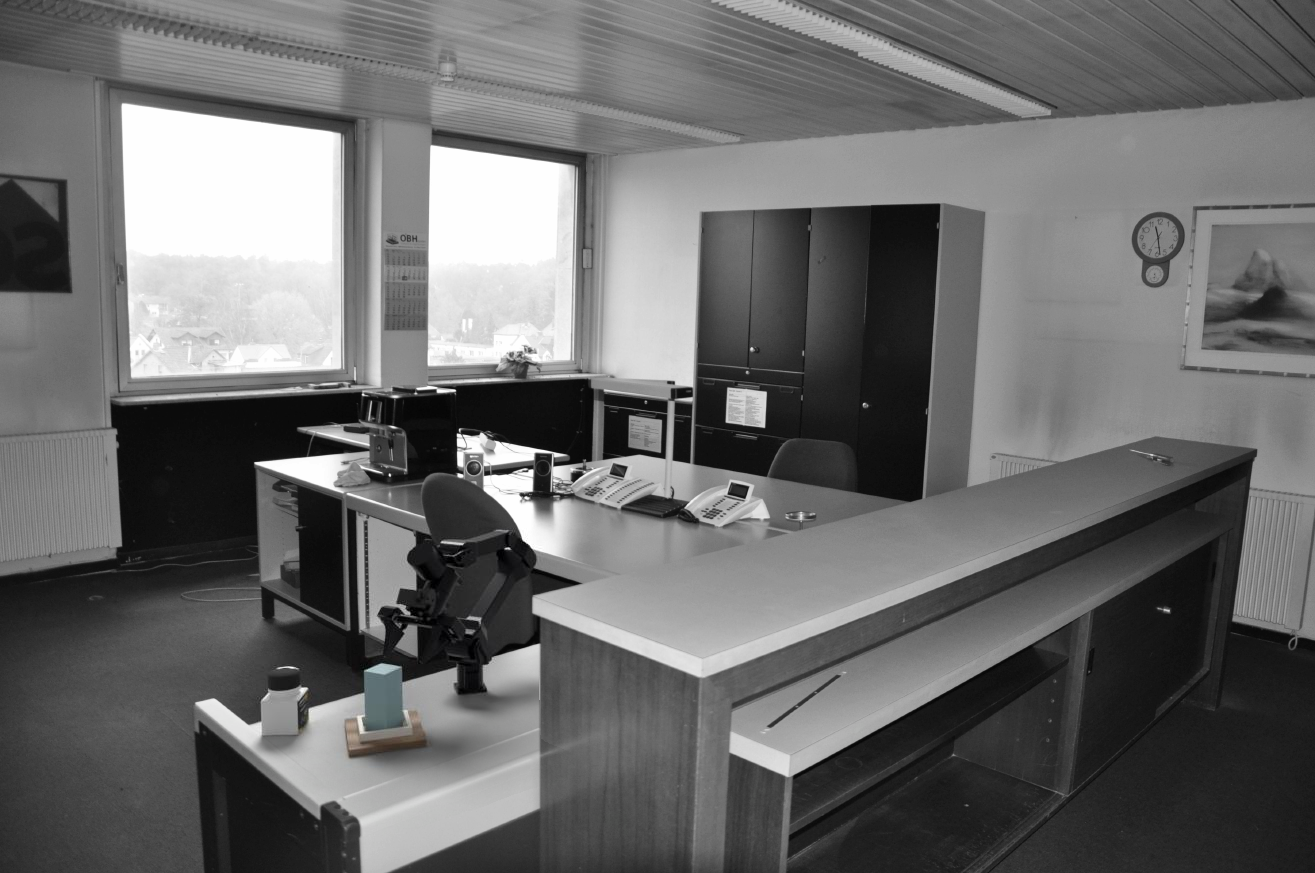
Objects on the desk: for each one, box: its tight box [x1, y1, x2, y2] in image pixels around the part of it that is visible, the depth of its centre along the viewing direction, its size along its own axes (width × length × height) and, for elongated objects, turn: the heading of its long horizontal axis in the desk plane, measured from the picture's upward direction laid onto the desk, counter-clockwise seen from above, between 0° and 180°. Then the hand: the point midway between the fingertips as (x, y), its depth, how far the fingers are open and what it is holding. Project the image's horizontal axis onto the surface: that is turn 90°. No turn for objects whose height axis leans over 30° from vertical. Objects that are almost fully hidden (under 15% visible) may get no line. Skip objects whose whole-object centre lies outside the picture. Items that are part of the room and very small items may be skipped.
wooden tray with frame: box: [344, 709, 428, 757], centre depth 185 cm, size 16×14×3 cm
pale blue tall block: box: [363, 663, 404, 732], centre depth 185 cm, size 5×5×12 cm
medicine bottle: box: [260, 666, 310, 737], centre depth 188 cm, size 7×7×12 cm
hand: (402, 659), depth 190 cm, fingers open, 9 cm apart
